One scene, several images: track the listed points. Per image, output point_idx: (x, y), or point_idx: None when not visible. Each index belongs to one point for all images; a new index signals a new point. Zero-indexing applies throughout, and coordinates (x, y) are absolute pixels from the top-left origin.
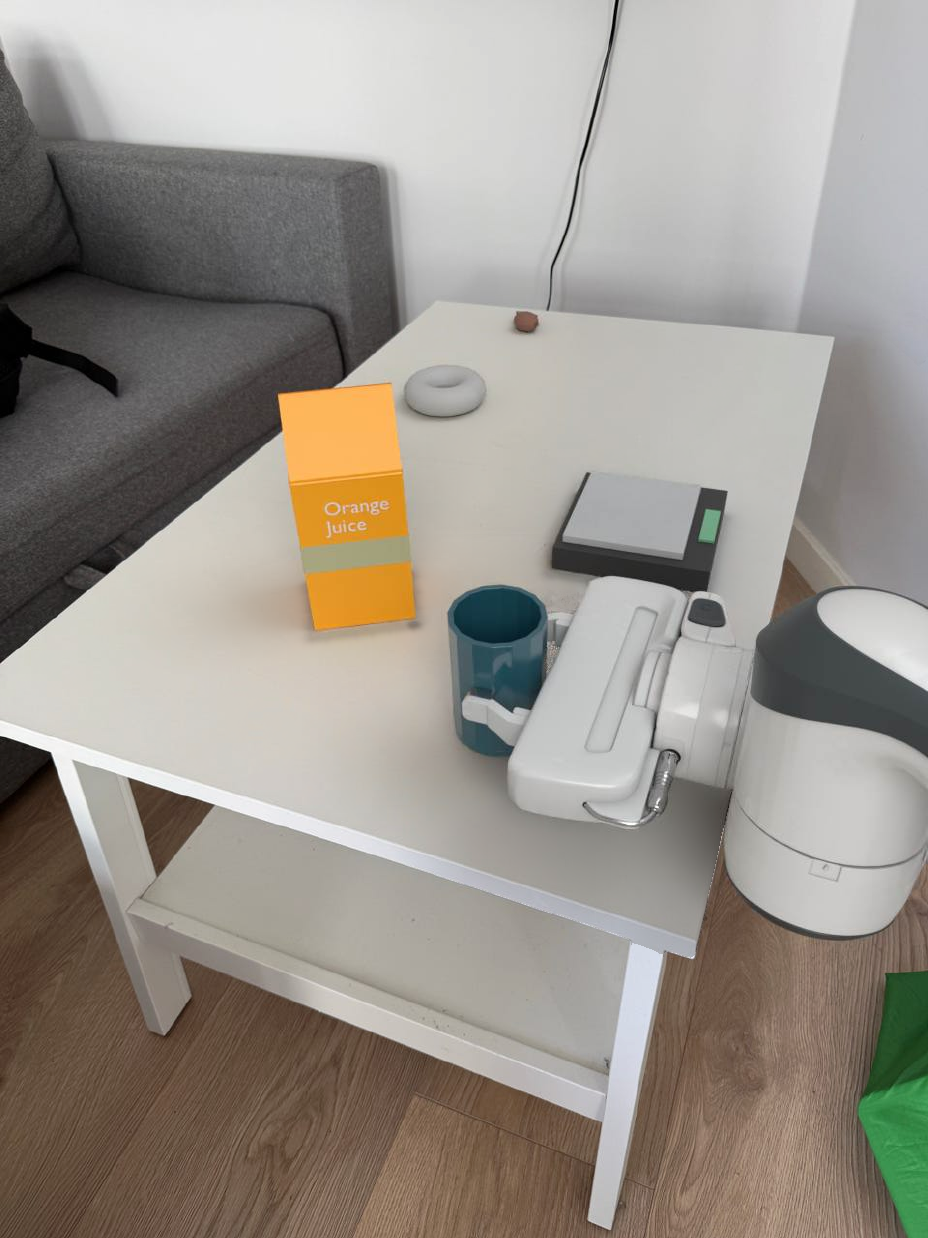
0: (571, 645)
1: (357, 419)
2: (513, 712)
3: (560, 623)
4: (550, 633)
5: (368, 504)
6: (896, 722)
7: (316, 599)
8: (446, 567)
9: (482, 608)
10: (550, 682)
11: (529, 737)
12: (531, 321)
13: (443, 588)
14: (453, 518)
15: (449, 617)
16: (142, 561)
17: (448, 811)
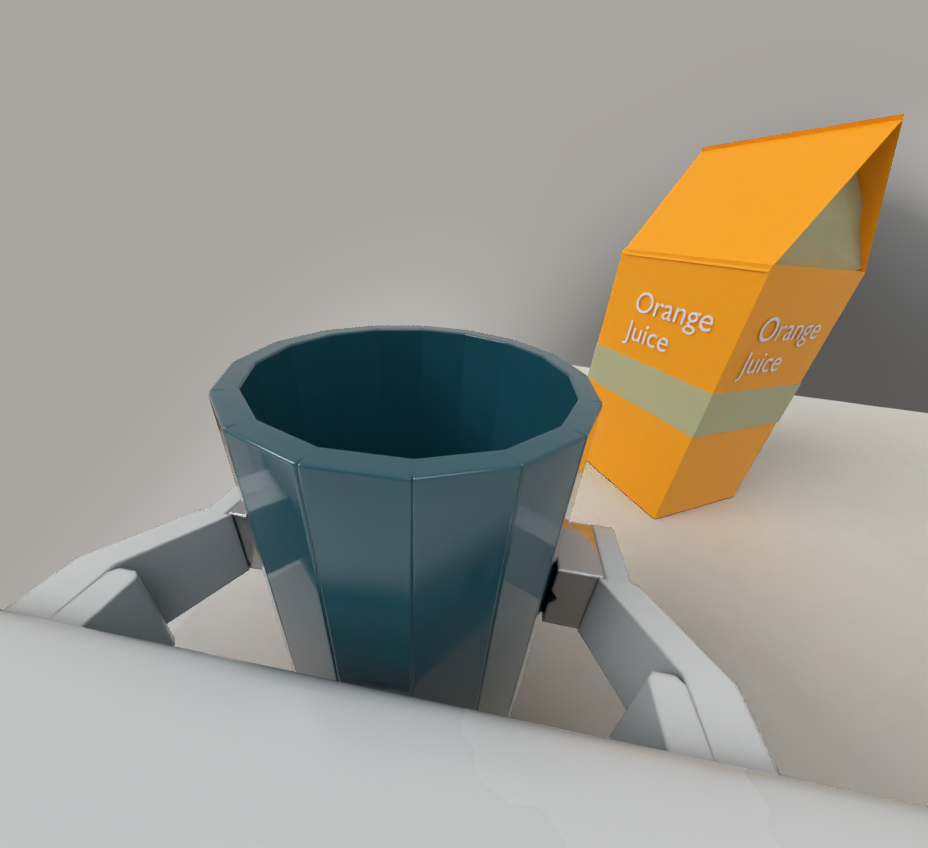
0: (453, 780)
1: (774, 181)
2: (111, 569)
3: (662, 698)
4: (636, 687)
5: (687, 314)
6: None
7: None
8: (786, 537)
9: (522, 414)
10: (141, 675)
11: None
12: None
13: (740, 541)
14: (892, 530)
15: (400, 326)
16: (582, 367)
17: (267, 627)
